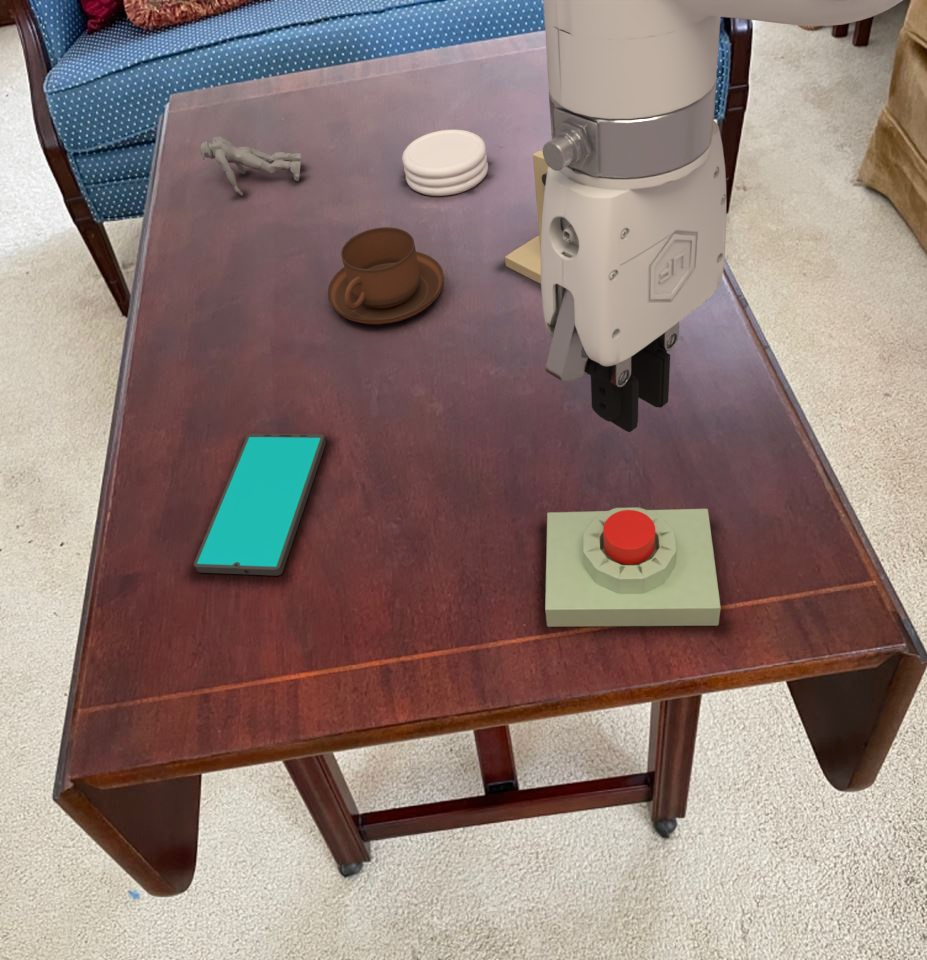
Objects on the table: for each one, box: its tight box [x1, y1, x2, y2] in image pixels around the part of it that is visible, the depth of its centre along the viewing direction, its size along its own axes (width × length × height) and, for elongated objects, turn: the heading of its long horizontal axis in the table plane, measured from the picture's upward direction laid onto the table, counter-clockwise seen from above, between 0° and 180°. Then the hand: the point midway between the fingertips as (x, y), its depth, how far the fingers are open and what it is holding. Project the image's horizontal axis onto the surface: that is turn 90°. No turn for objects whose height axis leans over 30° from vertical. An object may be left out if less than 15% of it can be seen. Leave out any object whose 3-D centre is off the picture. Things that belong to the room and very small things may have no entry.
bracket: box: [504, 150, 549, 285], centre depth 92 cm, size 11×9×13 cm
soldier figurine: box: [199, 135, 302, 197], centre depth 116 cm, size 6×5×12 cm
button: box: [603, 510, 655, 564], centre depth 66 cm, size 4×4×2 cm
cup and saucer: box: [327, 226, 445, 325], centre depth 95 cm, size 12×12×6 cm
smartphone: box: [193, 433, 327, 577], centre depth 79 cm, size 7×1×15 cm
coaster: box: [401, 129, 489, 197], centre depth 111 cm, size 10×10×4 cm
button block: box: [544, 506, 721, 628], centre depth 68 cm, size 12×9×4 cm
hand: (629, 406), depth 57 cm, fingers closed
